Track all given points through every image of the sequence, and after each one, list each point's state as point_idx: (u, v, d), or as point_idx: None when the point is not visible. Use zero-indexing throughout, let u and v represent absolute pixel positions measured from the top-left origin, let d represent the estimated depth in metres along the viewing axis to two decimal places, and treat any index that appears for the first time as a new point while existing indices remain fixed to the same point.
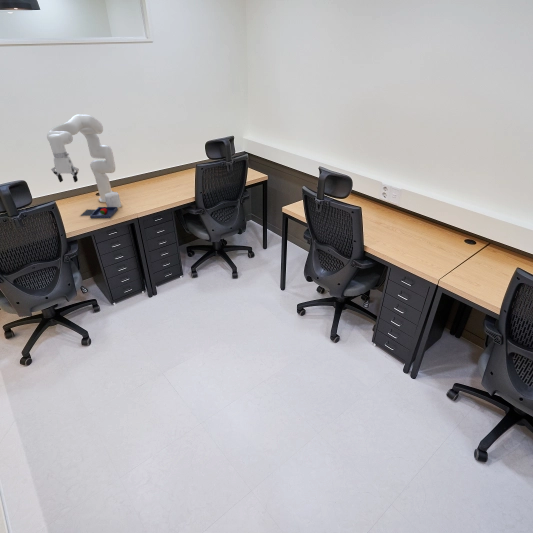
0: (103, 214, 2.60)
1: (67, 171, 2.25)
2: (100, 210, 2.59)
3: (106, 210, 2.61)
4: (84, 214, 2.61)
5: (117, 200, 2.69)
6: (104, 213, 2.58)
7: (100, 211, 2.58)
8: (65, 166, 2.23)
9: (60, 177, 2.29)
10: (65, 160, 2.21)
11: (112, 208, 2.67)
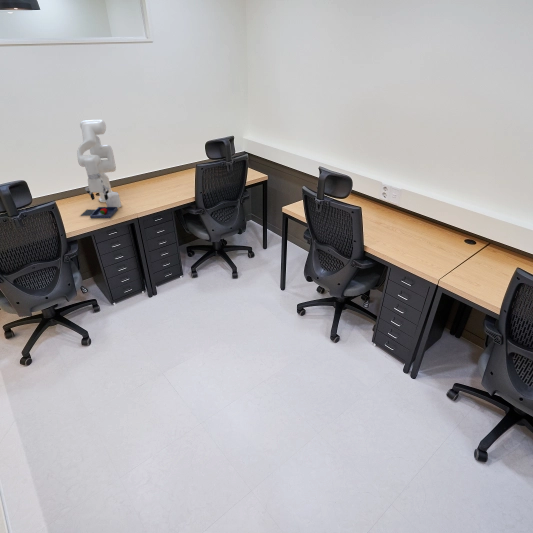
0: (103, 214, 2.60)
1: (99, 190, 2.48)
2: (100, 210, 2.59)
3: (106, 210, 2.61)
4: (84, 214, 2.61)
5: (117, 200, 2.69)
6: (104, 213, 2.58)
7: (100, 211, 2.58)
8: (97, 186, 2.47)
9: (92, 195, 2.53)
10: (98, 180, 2.45)
11: (112, 208, 2.67)
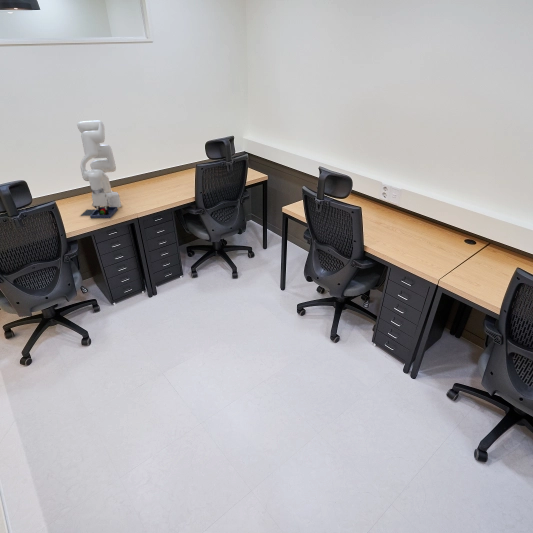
0: (103, 214, 2.60)
1: (103, 204, 2.55)
2: (100, 210, 2.59)
3: None
4: (84, 214, 2.61)
5: (117, 200, 2.69)
6: (104, 213, 2.58)
7: (100, 211, 2.58)
8: (101, 200, 2.53)
9: None
10: (102, 195, 2.51)
11: (112, 208, 2.67)
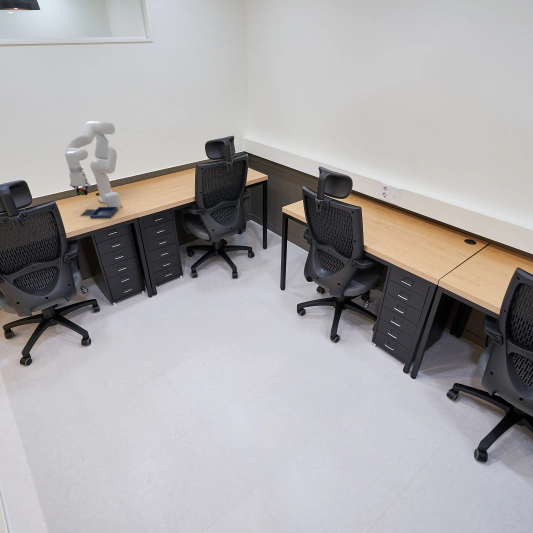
0: None
1: (81, 184, 2.48)
2: None
3: None
4: (84, 214, 2.61)
5: (117, 200, 2.69)
6: (83, 193, 2.52)
7: None
8: (79, 179, 2.47)
9: (78, 191, 2.53)
10: (80, 174, 2.45)
11: (112, 208, 2.67)
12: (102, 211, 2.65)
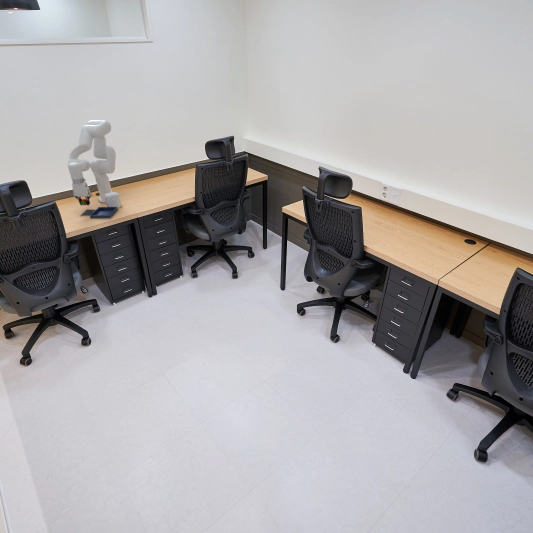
0: None
1: (84, 194, 2.53)
2: (81, 201, 2.57)
3: None
4: (84, 214, 2.61)
5: (117, 200, 2.69)
6: (85, 204, 2.56)
7: (81, 202, 2.56)
8: (82, 190, 2.51)
9: None
10: (82, 185, 2.49)
11: (112, 208, 2.67)
12: (102, 211, 2.65)
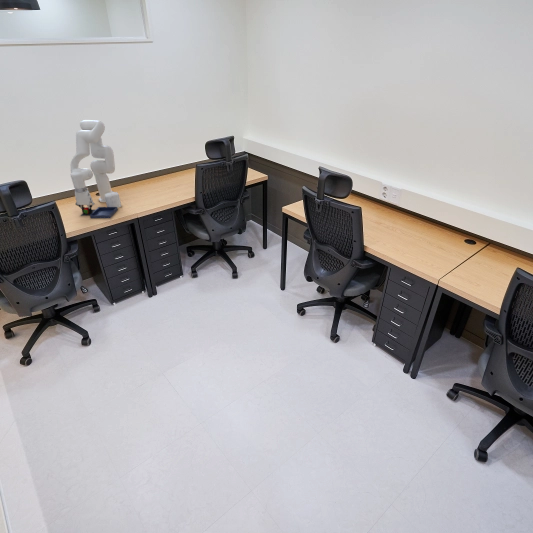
0: None
1: (86, 203, 2.56)
2: None
3: None
4: (84, 214, 2.61)
5: (117, 200, 2.69)
6: (87, 212, 2.60)
7: None
8: (84, 199, 2.54)
9: None
10: (85, 194, 2.52)
11: (112, 208, 2.67)
12: (102, 211, 2.65)
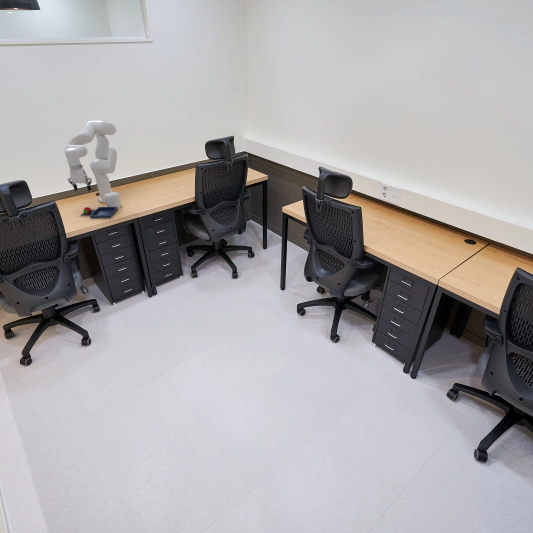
0: (87, 213, 2.62)
1: (82, 181, 2.48)
2: None
3: (90, 209, 2.63)
4: (84, 214, 2.61)
5: (117, 200, 2.69)
6: (87, 212, 2.60)
7: None
8: (79, 177, 2.47)
9: (75, 186, 2.53)
10: (80, 171, 2.44)
11: (112, 208, 2.67)
12: (102, 211, 2.65)
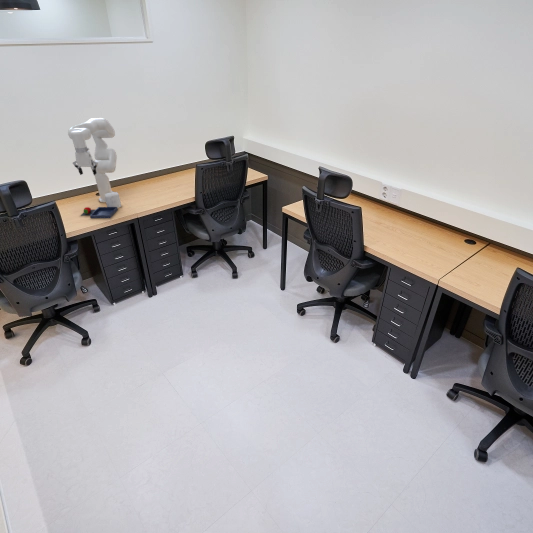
0: (87, 213, 2.62)
1: (87, 164, 2.46)
2: None
3: (90, 209, 2.63)
4: (84, 214, 2.61)
5: (117, 200, 2.69)
6: (87, 212, 2.60)
7: None
8: (85, 160, 2.44)
9: (80, 170, 2.50)
10: (86, 154, 2.42)
11: (112, 208, 2.67)
12: (102, 211, 2.65)
